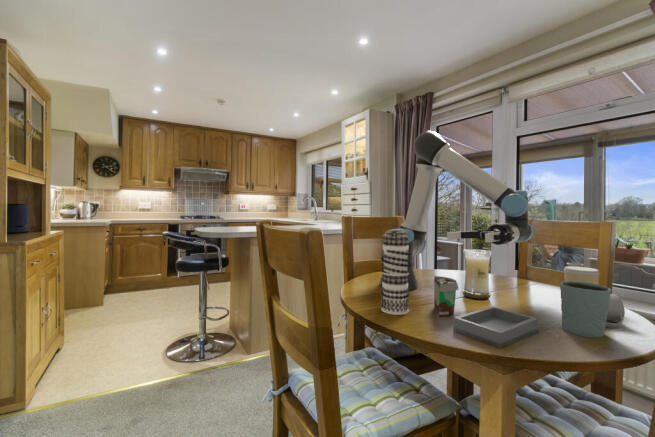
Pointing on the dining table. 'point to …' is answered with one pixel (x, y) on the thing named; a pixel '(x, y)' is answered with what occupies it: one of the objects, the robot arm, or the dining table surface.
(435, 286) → the food container
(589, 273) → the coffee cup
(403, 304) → the decorative candle
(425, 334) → the dining table surface
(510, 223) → the robot arm
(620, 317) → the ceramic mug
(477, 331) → the tray
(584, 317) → the teal tapered cylinder
